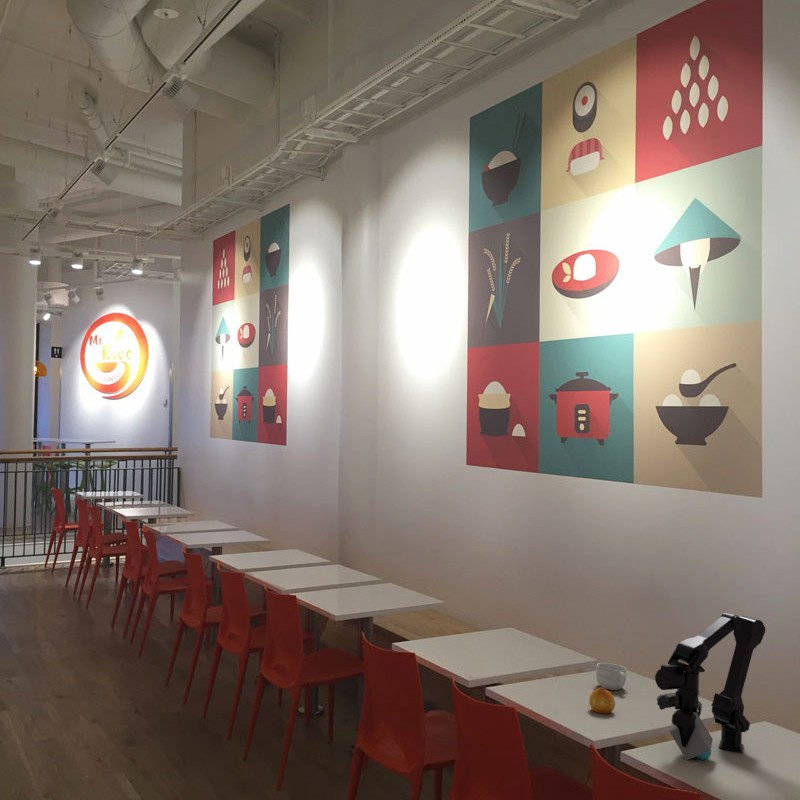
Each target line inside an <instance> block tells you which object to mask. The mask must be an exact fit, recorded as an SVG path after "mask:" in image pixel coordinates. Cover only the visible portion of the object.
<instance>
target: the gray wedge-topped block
mask: <svg viewBox="0 0 800 800" xmlns="http://www.w3.org/2000/svg"><path fill="white" fill-rule="evenodd" d="M694 715H695V716H696V726H695V729H694V731H693V733H692V735H691V738H690V740H689V742H688V744H687V747H683V746H682V743H681V738H680V733H679V729H678V727H677V726H676V725H674V724H673V723H672V722H671V725H670V729H669V734H670V735H671V737H672V738H673V740H674V742H675V743H676V746H677V747H678V748H679V750H680V752H681V754H682V755H683V758H685V760H686V761H688V760H690V759H693V758H697V757H696V756H698V755H701V754H704V753H706V752H709V751H711V752H712V747H713V740H714V739H713V737H712V736H711V733H709V731H708V729H707V727H706V726H705V723H704V722H703V720H702V719H701V717H699V716H698V714H697V713H695V712H694Z"/></svg>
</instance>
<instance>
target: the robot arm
mask: <svg viewBox="0 0 800 800" xmlns="http://www.w3.org/2000/svg"><path fill="white" fill-rule="evenodd" d="M732 632H733V636H734V640H735V646H734V651H733V654H732V658H731V662H730V665H729V669H728V673H727V677H726V680H725V684H724V688H723V689H722V691H720V693H717V692H715V693H714V695H713V701H712V703H711V713H712V715H713V718H714V719H713V720H714V722H715V724H718V725H720V726H721V731H720V734H721V735H720V736H721V737H720V741H719V745H718V749H722V750H725V751H731V752H736V753H740V754H741V753H743V750H744V744H743V743H742V741H743V740H742V739H743V737H742V736H743V733H747V731H749V729H750V726H751V723H750V722H749V720H748V719H747V718H746V716H745V715H744V711H745V706H744V701H743V698H742V694H743V691H744V687H745V683H746V680H747V674H748V671H749V667H750V663H751V660H752V656H753V652H754V649H755V648H756V647H758V646H759V645H760V644H761V643H762V642H763V641H762V640H763V639H764V636H765V633H766V626H765V625H764V622H763V621H762V620H760V619H757V618H753V617H749V616H745V615H740V616H738V615H736V614H733V613H729V612H723V613H722V614H721V616H720V617H719V618H718V619H717V620H715V621H714V622H713V623H712V624H711V625H709V626H708V627H707V628H706V629H704V630H703V631H702V632H700V633H699V634H698V635H696V636H695V637H690V638H686V639H684V640H682V641H680V642H678V644H677V645H676V646H675V647H676V648H675V649H674V651H673V652H672V654H671V656H670V658H669V659H668V661H667V664H661V665H660V669H658V670H657V671H656V672H655V675H654V680H655V683H656V686H657V687H658V688H659V689H660V690H661V691H668V690H676V691H675V692H670V693H669V692H668V693H665V694H664V693H663V694H659V695H658V696H657V697H656V701H657V703H656V704H657V706H658V708H659V710H661V711H662V710H665V709H669V708H674V710H676V711H674V712H673V714H672V716H671V724H672V723H673V724H674V725H676V726H677V727H678V729H679V733H680V738H681V743H682V746H683V747H687V744H688V742H689V740H690V738H691V735H692V733H693V731H694V729H695V726H696V716H695V715H694V712H695V713H697V714H698V716H699V717H700V716H701V713H702V710H703V709H702V708H703V704H702V702H701V701H700V700H699V696H700V690H699V688H700V687H699V686H700V673H705V672H706V669H704V667H703V666H702V664H703V663H704V662H705V660H706V659H707V658H708V657H709V651H710V650H711V649H712V648H714V647H715V646H716V645H717V644H718V643H720V642H721V641H723V639H725V638H726V637H728V636H729V634H731V633H732ZM700 718H701V717H700Z"/></svg>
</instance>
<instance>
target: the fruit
mask: <svg viewBox="0 0 800 800" xmlns="http://www.w3.org/2000/svg"><path fill="white" fill-rule="evenodd" d="M588 701H589V706H590V708H591V710H593V711H594V712H595V713H597V712H598V713H599V714H610V713H611V712H613V711H614V709H615V707H616V700H615V697H614V695H613V694H612V693H611V692H610V691H609V690H608V689H605V688H603V687H598V688H597V689H594V690H592V692H591V694H590V695H589V700H588Z"/></svg>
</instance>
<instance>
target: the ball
mask: <svg viewBox="0 0 800 800" xmlns="http://www.w3.org/2000/svg"><path fill="white" fill-rule="evenodd" d="M711 754H712V750H711V751H709V752H706V753H704V754H701V755H698V756H696V757H695V758H697V759H699V760H703V761H705V760H707V759H709V758H710V757H711Z"/></svg>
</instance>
